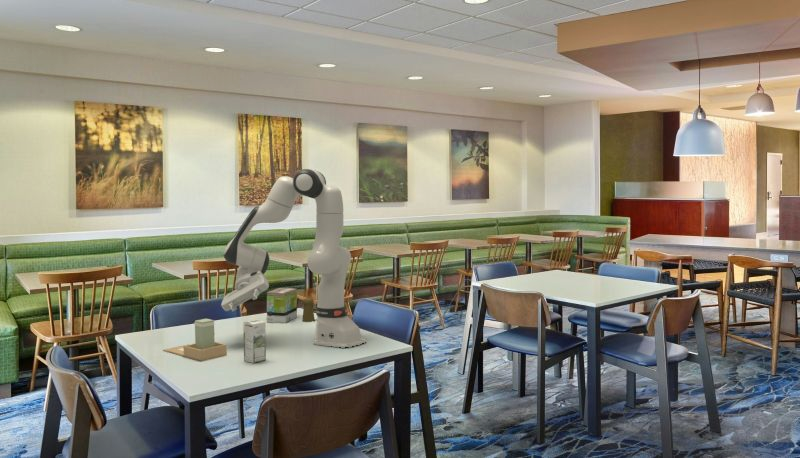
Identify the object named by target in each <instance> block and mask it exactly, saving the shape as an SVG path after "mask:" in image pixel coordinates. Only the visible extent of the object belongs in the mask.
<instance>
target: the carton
mask: <svg viewBox="0 0 800 458" xmlns="http://www.w3.org/2000/svg"><path fill="white" fill-rule="evenodd" d="M194 338H195V339H194V341H195V343H194V344H195V346H196V349H199V350H203V349H207V348H212V347H215V342H216V341H215V339H216V338H215V320H214V319H210V318H202V319H197V320H194Z"/></svg>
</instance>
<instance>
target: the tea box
mask: <svg viewBox="0 0 800 458" xmlns="http://www.w3.org/2000/svg"><path fill="white" fill-rule="evenodd" d="M297 317H298V288H289V287H288V288H287V287H278V288H275V289H273V290H269V291H267V292H266V323H273V324H286V323H287V322H290V321H292V320H294V319H296V318H297Z"/></svg>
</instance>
